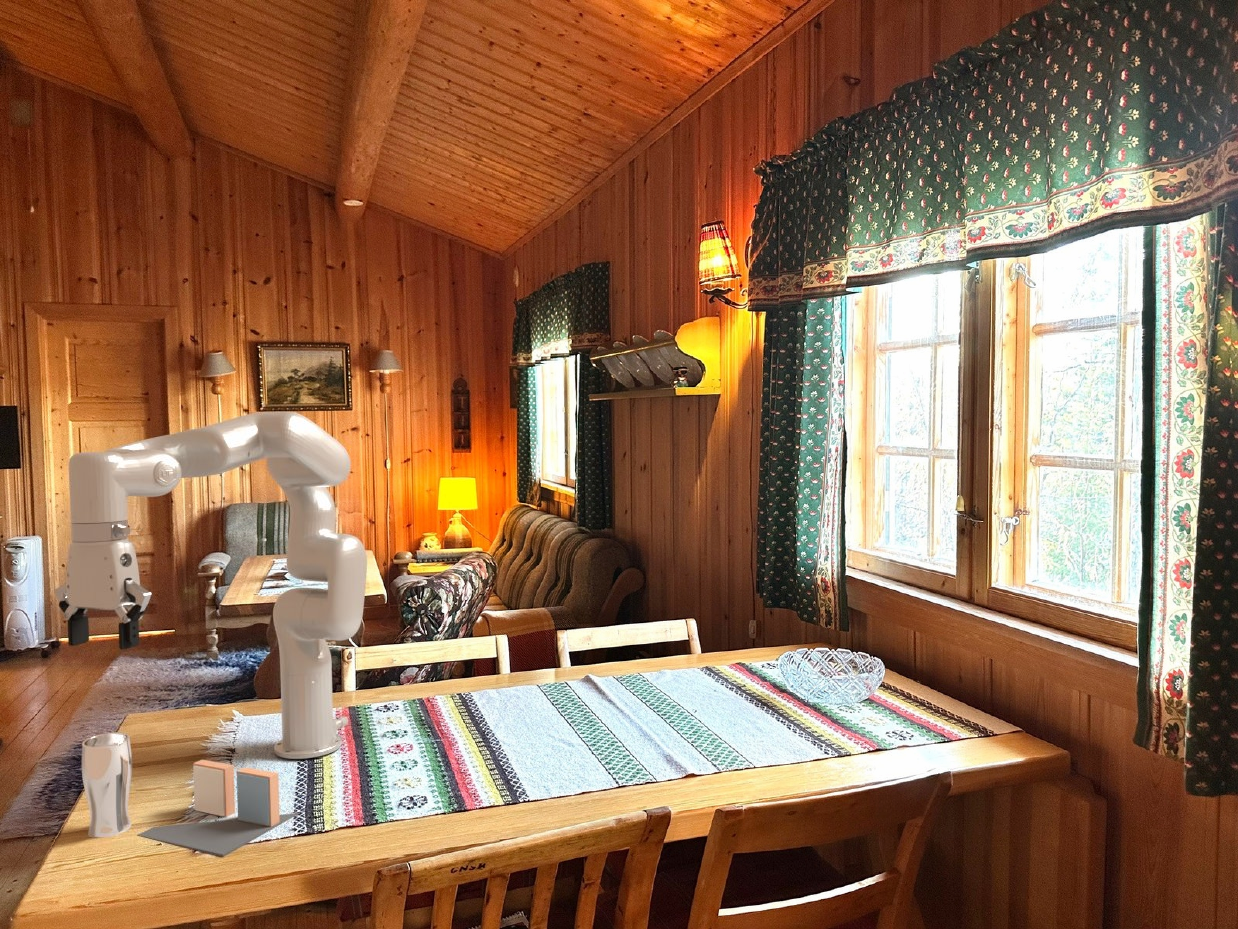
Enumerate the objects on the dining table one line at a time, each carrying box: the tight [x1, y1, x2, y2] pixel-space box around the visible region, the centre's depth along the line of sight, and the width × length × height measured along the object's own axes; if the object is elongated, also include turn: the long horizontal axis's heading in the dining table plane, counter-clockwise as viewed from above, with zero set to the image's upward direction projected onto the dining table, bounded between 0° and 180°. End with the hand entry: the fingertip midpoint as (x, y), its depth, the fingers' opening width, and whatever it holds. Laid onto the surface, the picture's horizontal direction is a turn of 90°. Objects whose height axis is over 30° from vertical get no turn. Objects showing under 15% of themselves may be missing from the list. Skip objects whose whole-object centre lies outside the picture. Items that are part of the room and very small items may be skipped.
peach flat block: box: [236, 766, 281, 827], centre depth 148 cm, size 2×7×8 cm, turn 66°
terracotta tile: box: [192, 759, 236, 818], centre depth 152 cm, size 2×7×8 cm, turn 66°
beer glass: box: [81, 731, 133, 838], centre depth 146 cm, size 7×7×15 cm
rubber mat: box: [137, 812, 300, 858], centre depth 149 cm, size 18×18×1 cm
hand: (103, 645), depth 140 cm, fingers open, 9 cm apart
